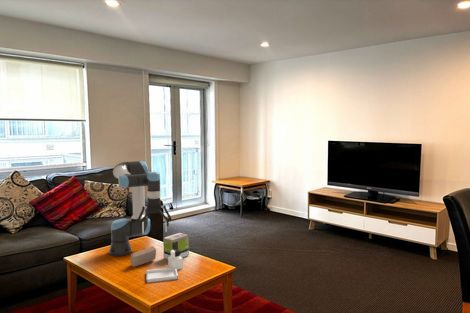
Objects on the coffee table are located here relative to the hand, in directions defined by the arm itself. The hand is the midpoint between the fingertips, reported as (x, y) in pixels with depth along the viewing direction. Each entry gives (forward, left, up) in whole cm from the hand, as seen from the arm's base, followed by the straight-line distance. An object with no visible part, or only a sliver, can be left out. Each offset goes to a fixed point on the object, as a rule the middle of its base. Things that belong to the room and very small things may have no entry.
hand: (154, 232), depth 208 cm
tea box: (-26, +15, -26) cm, 39 cm away
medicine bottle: (-6, +13, -26) cm, 30 cm away
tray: (+5, +4, -26) cm, 26 cm away
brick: (-19, -7, -26) cm, 33 cm away
